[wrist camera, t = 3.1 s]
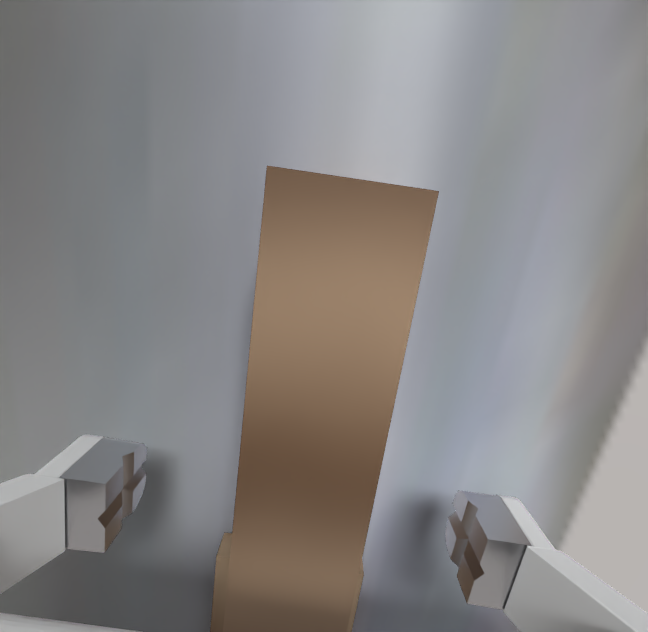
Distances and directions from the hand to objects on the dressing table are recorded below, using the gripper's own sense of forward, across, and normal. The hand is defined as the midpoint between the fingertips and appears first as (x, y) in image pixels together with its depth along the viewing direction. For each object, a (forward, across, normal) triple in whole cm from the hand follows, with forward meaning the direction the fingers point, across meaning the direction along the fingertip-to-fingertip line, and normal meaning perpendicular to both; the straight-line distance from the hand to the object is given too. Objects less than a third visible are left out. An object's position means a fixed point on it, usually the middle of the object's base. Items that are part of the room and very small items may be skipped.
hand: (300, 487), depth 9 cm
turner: (+3, 0, +2) cm, 3 cm away
